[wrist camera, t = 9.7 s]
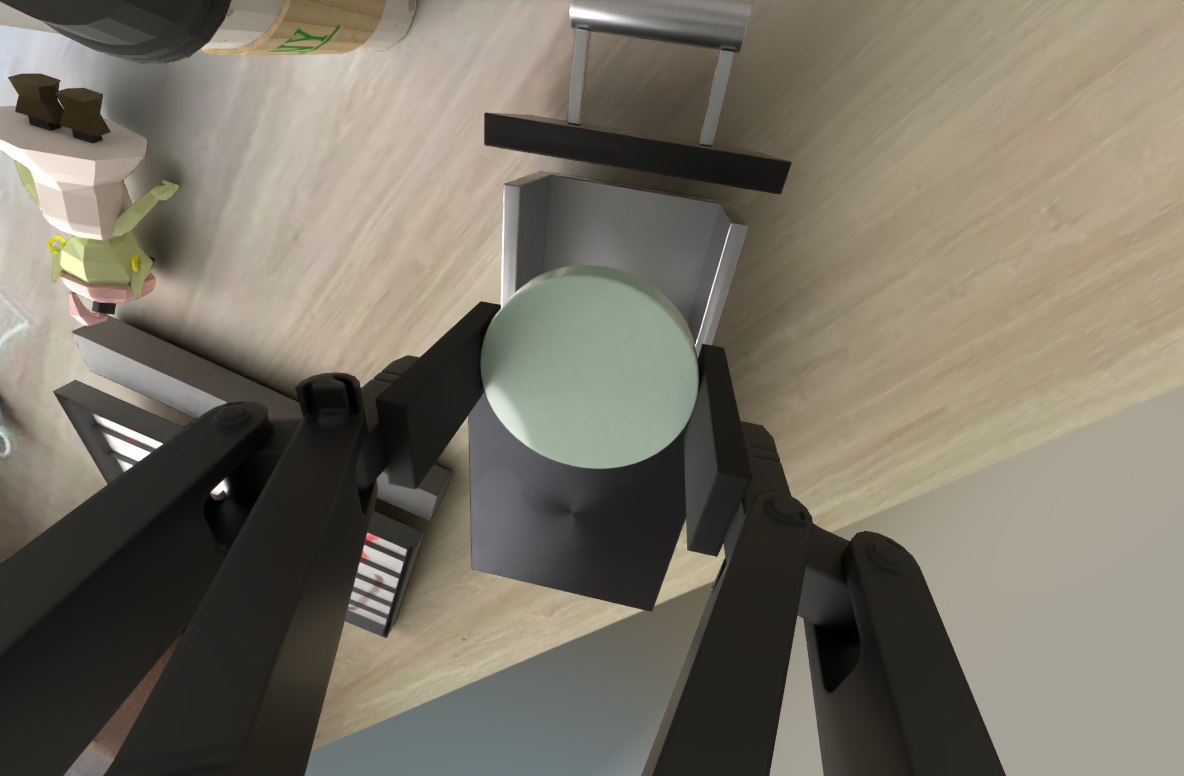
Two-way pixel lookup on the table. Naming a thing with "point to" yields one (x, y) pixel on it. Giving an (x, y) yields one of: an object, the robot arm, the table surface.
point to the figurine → (82, 190)
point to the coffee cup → (223, 26)
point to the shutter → (195, 389)
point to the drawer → (631, 214)
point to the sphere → (119, 724)
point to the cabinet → (573, 516)
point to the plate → (591, 367)
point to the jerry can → (21, 20)
